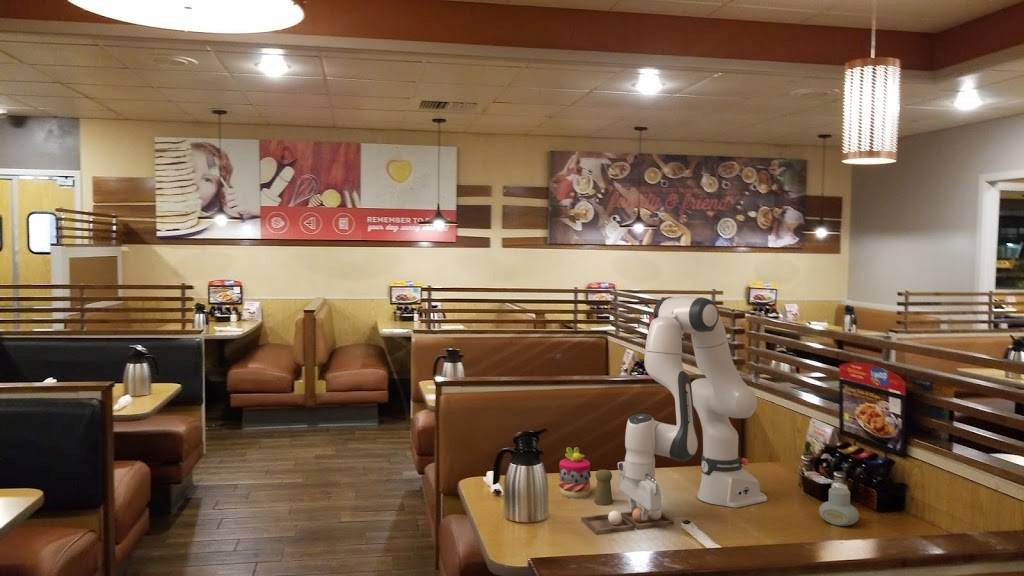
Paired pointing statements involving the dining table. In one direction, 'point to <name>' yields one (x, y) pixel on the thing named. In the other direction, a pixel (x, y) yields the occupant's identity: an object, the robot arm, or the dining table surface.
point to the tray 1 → (605, 524)
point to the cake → (574, 475)
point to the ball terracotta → (637, 514)
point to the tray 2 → (648, 521)
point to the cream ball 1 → (614, 517)
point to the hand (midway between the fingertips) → (639, 515)
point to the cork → (603, 488)
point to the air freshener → (839, 508)
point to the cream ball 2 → (654, 515)
